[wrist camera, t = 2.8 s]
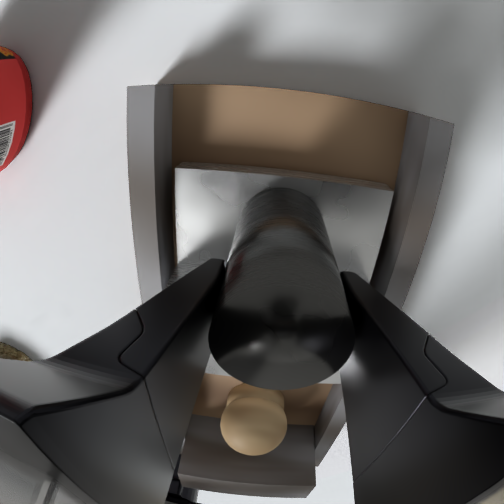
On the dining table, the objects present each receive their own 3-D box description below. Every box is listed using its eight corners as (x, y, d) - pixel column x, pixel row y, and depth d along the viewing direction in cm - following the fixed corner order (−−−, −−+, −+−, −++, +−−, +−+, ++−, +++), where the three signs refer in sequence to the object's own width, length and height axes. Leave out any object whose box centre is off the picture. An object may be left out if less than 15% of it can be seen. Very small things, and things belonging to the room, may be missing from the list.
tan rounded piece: (282, 416, 20) (281, 466, 17) (224, 411, 20) (216, 461, 17) (292, 383, 18) (292, 440, 15) (225, 377, 18) (215, 433, 15)
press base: (321, 425, 24) (325, 499, 18) (179, 412, 24) (161, 484, 18) (420, 114, 12) (516, 147, 6) (155, 84, 12) (63, 93, 6)
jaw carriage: (348, 320, 15) (374, 446, 9) (186, 305, 15) (143, 428, 9) (385, 183, 12) (474, 284, 6) (182, 161, 12) (91, 246, 6)
